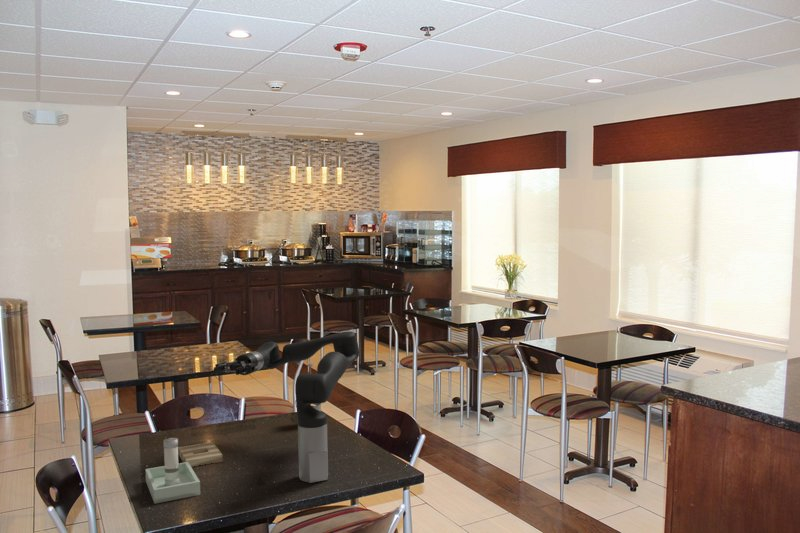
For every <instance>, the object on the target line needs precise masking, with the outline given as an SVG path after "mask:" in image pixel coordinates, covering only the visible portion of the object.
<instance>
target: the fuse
mask: <svg viewBox="0 0 800 533" xmlns="http://www.w3.org/2000/svg"><path fill="white" fill-rule="evenodd" d="M178 447H179V438H177V437H169V438H165V439H163V456H164V457H163V458H164V459H163V460H164V466H165V486H166V487H167V486H173V485H178V484H179V466H178V463H179V454H178Z"/></svg>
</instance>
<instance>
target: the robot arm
mask: <svg viewBox="0 0 800 533" xmlns="http://www.w3.org/2000/svg"><path fill="white" fill-rule="evenodd" d="M358 343H359V342H358V338H357V335H356V333H355V332H354V331H343V332H338V333H333V334H329V335H326V336H322V337H319V338H315V339H311V340H306V341H301V342H293V343H287V344H285V345H284V346H283V348H282V352H281V351H280V346H279V345H278V343H277V342H275V341H268V342H265V343H262V344H261V345H260V347H258V348H257V349H256V350H255V351H248V352H246V353H243V354H240V355H238V356H237V357H236V358H235V360H233V361H228V362H227V361H223V362H219V363H216V364H215V365H214V368H213V374H214V375H217V374H220V373H223V372H225V373H226V374H227V373H228V374H229V373H235V375H237V376H239V375H242V376H248V375H251V374H252V373H255V372H258V371H259V370H261V369H264V368H265V369H267V370H274V369H276V368H279V367H281V366H284V365H285V364H288V363H292V362H293V363H294V362H301V361H307V360H308V359H310V358H311V357H313V356H314V355H315V354H316V353H318V352H319V350H321V349H322V348H324V347H325V346H328V345H332V346H333V351H329V352H328V353H326V354H324V356H323V357H322V358H321V359H320V360H319V362H318V363H317V367H316V370H317V373H299V374H298V376H297V377H296V380H295V383H294V384H295V386H294V391H295V400H296V405H295V407H296V406H297V408H296V418H297V436H298V437H297V443H298V444H297V445H298V451H297V452H298V478H299V480H300V481H302V482H305V483H308V484H313V483H317V482H323V481H327V480H328V479H329V459H328V458H329V456H328V454H329V452H328V417H327V414H326V413H325V412H323V411H322V410H321V411H319V410H316V409H315V408H313V407H312V406H313V405H312V404H311V405H310V403H321V404H324V403H326V402H327V401H329V399H330V398H331V395H332V394H333V391H334V389H335V387H336V385H337V383H338V382H339V381H340V379H341V378H342V377H343V375H344V374H345V372H346V370H348V367H350V366H351V365H352V363H354V362H355V361H356V360H357V359H358V358H359V356H360V347H359V344H358ZM280 352H281V353H282V354H281V353H280Z"/></svg>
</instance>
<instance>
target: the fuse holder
mask: <svg viewBox="0 0 800 533" xmlns="http://www.w3.org/2000/svg"><path fill="white" fill-rule="evenodd" d="M178 457H179V458H180V459H181V461H182V463H184V462H188V463H189V464H190V466H191V468H193V467H194V466H195V467H199V465H201V466H205V464H206V465H211V463H212V464H216V463H217V464H218V463H222V462H223V454H222V452H221V451H220V450H219V448H218V447H217V446H216V445H215V443H214V442H213V441H211V442H203V443H197V444H192V445H184V446H178Z"/></svg>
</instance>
